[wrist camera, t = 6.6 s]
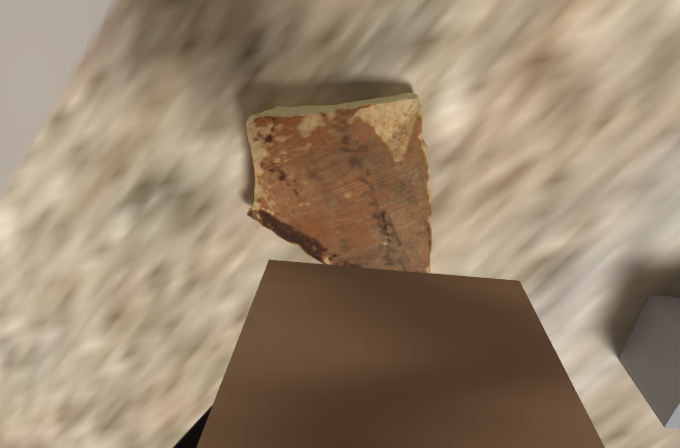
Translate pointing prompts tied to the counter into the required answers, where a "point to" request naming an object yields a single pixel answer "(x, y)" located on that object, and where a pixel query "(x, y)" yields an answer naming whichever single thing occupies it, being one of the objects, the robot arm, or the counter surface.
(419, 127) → the shard
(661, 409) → the gray cube
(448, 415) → the walnut block
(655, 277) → the counter surface
